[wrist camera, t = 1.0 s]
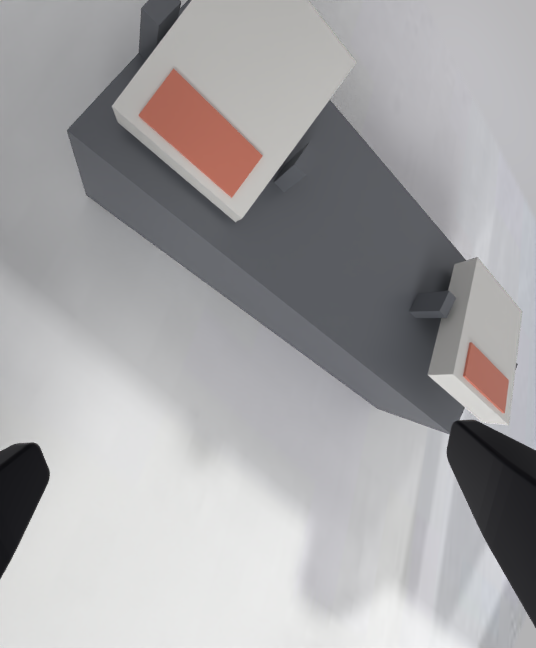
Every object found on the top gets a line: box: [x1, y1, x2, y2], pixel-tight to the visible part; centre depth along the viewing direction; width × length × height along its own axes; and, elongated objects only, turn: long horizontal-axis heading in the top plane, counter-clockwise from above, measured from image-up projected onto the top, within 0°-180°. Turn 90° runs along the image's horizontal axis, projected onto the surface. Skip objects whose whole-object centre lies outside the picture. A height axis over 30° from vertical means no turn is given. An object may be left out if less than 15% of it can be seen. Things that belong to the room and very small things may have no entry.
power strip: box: [67, 0, 518, 434], centre depth 17 cm, size 9×23×8 cm, turn 56°
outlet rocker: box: [428, 257, 522, 425], centre depth 17 cm, size 7×5×1 cm
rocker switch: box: [112, 0, 357, 222], centre depth 11 cm, size 7×5×1 cm
